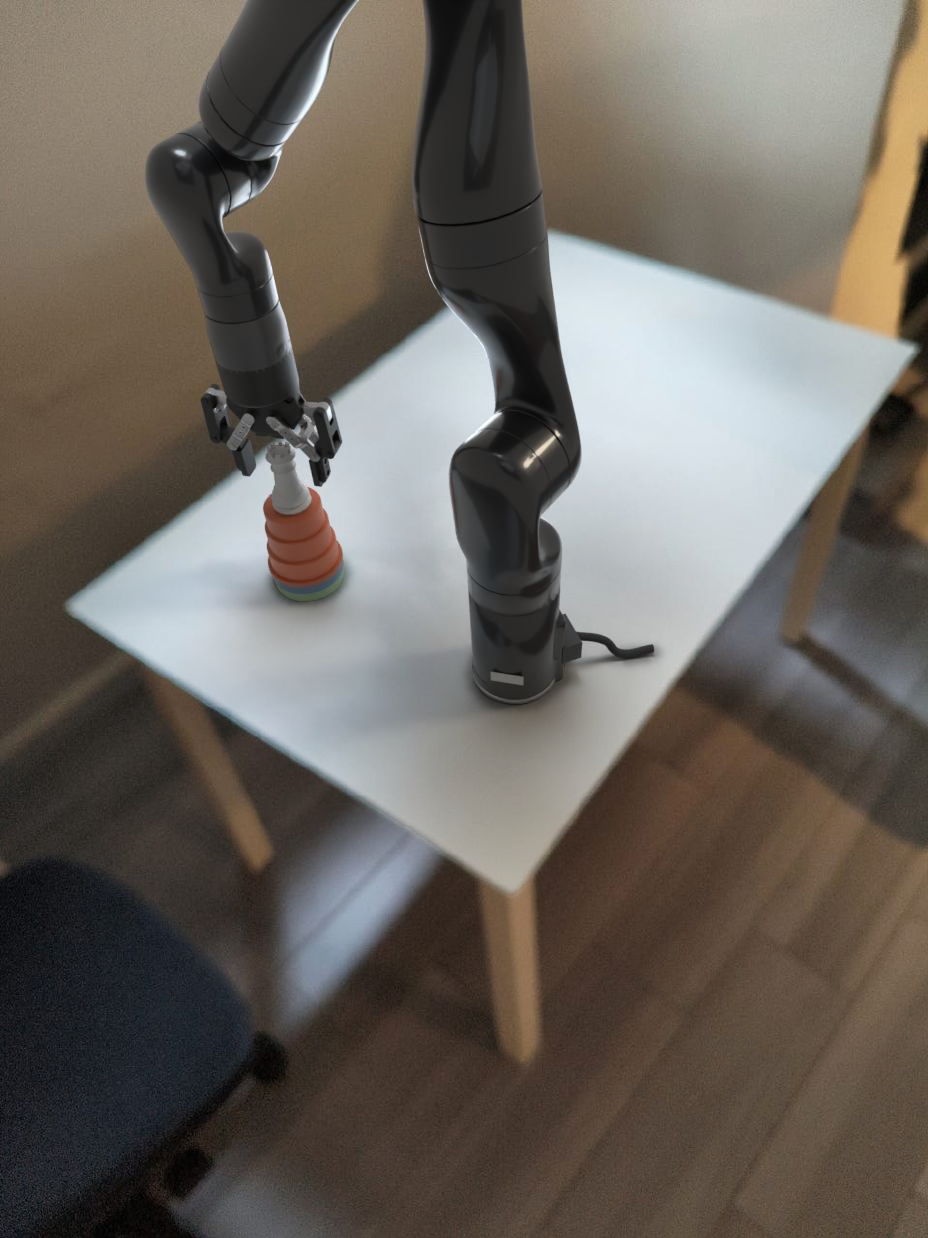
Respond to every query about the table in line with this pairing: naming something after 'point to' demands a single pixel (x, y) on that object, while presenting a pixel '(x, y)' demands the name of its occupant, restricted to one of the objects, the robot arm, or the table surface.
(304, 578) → the cup stack
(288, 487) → the rook chess piece
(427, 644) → the table surface
